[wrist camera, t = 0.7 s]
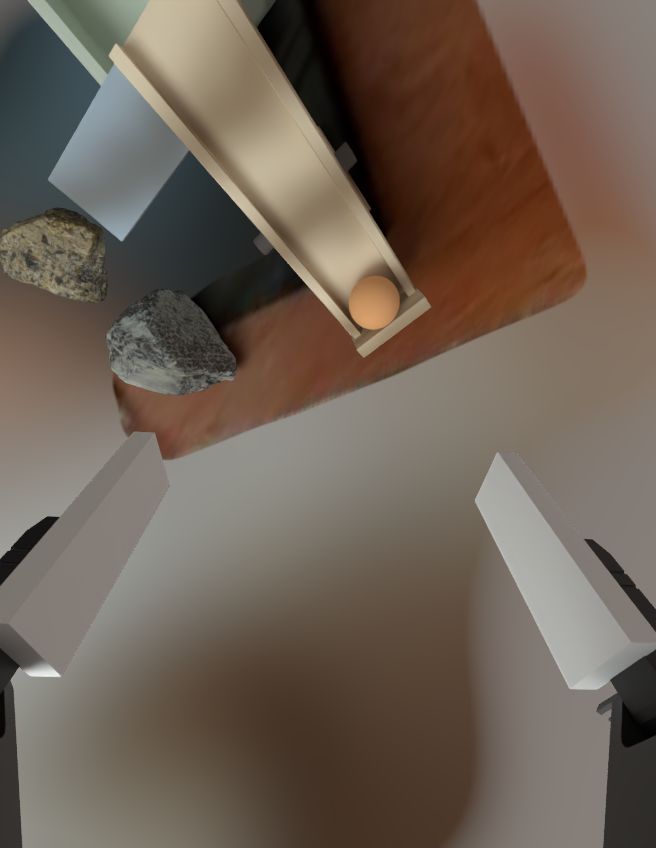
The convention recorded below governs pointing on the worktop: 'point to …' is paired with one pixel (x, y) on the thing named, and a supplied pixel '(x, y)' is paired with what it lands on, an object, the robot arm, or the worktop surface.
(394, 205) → the worktop surface
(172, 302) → the stone
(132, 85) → the lever
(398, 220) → the worktop surface
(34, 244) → the rock
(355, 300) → the brown egg
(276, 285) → the worktop surface
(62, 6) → the bin
